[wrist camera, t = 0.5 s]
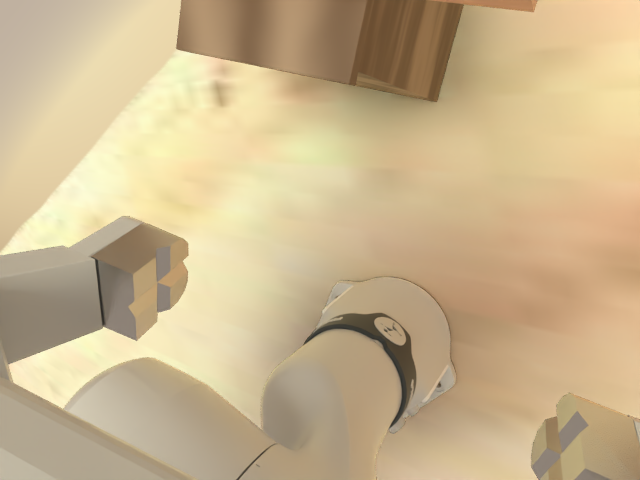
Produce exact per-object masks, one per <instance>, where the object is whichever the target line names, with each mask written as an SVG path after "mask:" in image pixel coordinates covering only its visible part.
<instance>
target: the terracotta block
mask: <svg viewBox="0 0 640 480" xmlns="http://www.w3.org/2000/svg"><path fill="white" fill-rule="evenodd" d="M432 1H440V2H449V3H458V4H467V5H476V6H485V7H493V8H502V9H511V10H520V11H529V12H534V10H535V7H536V4H537V0H432Z"/></svg>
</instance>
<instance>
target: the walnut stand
mask: <svg viewBox="0 0 640 480" xmlns="http://www.w3.org/2000/svg"><path fill="white" fill-rule="evenodd" d="M463 5H464V4H458V3H449V2H440V1H432V0H182V1H181V10H180V19H179V30H178V38H177V47H176V49H178V50H182V51H186V52H191V53H196V54H201V55H206V56H211V57H215V58H220V59H225V60H230V61H235V62H240V63H245V64H250V65H255V66H260V67H265V68H270V69H275V70H280V71H285V72H290V73H294V74H299V75H304V76H309V77H314V78H319V79H324V80H329V81H334V82H339V83H344V84H349V85H354V86H360V87H365V88H370V89H375V90H380V91H385V92H390V93H395V94H400V95H405V96H410V97H415V98H419V99H424V100H429V101H434V102H437V99H438V96H439V92H440V88H441V85H442V81H443V77H444V74H445V70H446V66H447V63H448V59H449V56H450V52H451V48H452V45H453V41H454V37H455V34H456V30H457V26H458V23H459V19H460V15H461V12H462V8H463Z"/></svg>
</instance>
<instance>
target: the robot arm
mask: <svg viewBox="0 0 640 480" xmlns="http://www.w3.org/2000/svg"><path fill="white" fill-rule="evenodd" d="M187 256H188V243H187V242H186V241H185V240H184V239H183V238H180V237H178V236H176V235H173V234H171V233H169V232H166V231H164V230H162V229H159V228H157V227H155V226H152V225H150V224H146V223H144V222H142V221H139V220H137V219H135V218H132V217H130V216H122V217H120V218H119V219H117V220H115V221H113V222H112V223H110V224H108V225H107V226H105V227H103V228H102V229H100V230H98V231H97V232H95V233H93V234H91V235H90V236H88V237H86V238H85V239H83V240H81V241H80V242H78V243H76V244H75V245H73V246H71V247H70V248H67V247H65V246H57V247H51V248H45V249H38V250H32V251H26V252H20V253H14V254H7V255H1V256H0V480H377V478H376V456H377V453H378V451H379V448H380V446H381V443H382V441H383V439H384V437H385V435H386V433H387V431H388V430H389V431H390V433H392V434H394V433H396V432H397V431H398V430H399V429H400V428H401V427H402V426H403V425H404V424H405V422H406V421H405V419H404V418H406V417H407V416H409V415H410V416H411V417H412V416H414V415H415V414H416V413H417V412H418V411H419V410H420V408H421V407H423V406H424V405H426V404H427V403H429V402H430V401H432V400H434V399H435V398H437V397H438V396H440V395H441V394H443V393H444V392H446V391H447V390H449V389H450V388H452V387H453V385H454V384H455V383H456V379H457V378H456V372H455V369H454V367H453V364H452V361H451V359H450V344H451V337H450V330H449V326H448V322H447V319H446V317H445V315H444V313H443V311H442V309H441V308H440V306H439V305H438V303H437V302H436V301H435V300H434V299H433V298H432V297H431V296H430V295H429V294H428V293H427V292H426V291H425V290H423V289H422V288H420V287H419V286H417V285H415V284H413V283H411V282H409V281H406V280H403V279H400V278H394V277H379V278H374V279H370V280H367V281H363V282H354V281H339V282H338V283H336V284H335V285H334V287H333V289H332V291H331V294H330V296H329V299H328V301H327V303H326V306H325V308H324V309H323V311H322V316H321V318H320V320H319V323H318V325H317V328H316V329H315V330H314V331H313V333H312V334H311V335H310V336H309V337H308V338H307V340H306V341H305V343H304V344H303V346H302V347H301V348H300V349H298V350H297V351H296V352H294V353H293V354H292V355H291V356H289V357H288V358H287V359H285V360H284V361H283V362H282V363H280V364H279V365H278V366H277V367H276V368H275V369H274V370H273V372H272V373H271V375H270V376H269V378H268V379H267V381H266V384H265V386H264V389H263V393H262V398H261V426H262V430H261V429H260V428H259V427H257V426H256V425H255V424H254V423H253V422H252V421H250V420H249V419H248V418H247V417H246V416H244V415H243V414H242V413H241V412H240V411H238V410H237V409H236V408H235V407H234V406H232V405H231V404H230V403H229V402H228V401H226V400H225V399H224V398H223V397H222V396H221V395H219V394H218V393H217V392H216V391H215V390H213V389H212V388H211V387H210V386H208V385H207V384H205V383H203V382H201V381H199V380H198V379H196V378H194V377H192V376H190V375H188V374H186V373H184V372H183V371H181V370H179V369H176V368H174V367H172V366H170V365H168V364H166V363H164V362H162V361H160V360H158V359H155V358H149V357H147V358H139V359H134V360H130V361H127V362H123V363H120V364H118V365H115V366H113V367H111V368H109V369H107V370H105V371H103V372H101V373H100V374H98V375H97V376H95V377H94V378H92V379H91V380H90V381H89V382H87V383H86V384H85V385H84V386H83V387H82V388H80V389H79V390H78V391H77V392H76V393H75V394H74V396H73V397H72V398H71V399H70V400H69V401H68V403H67V404H66V405H65V407H64V408H63V409H62V408H60V407H58V406H56V405H55V404H53V403H51V402H49V401H47V400H45V399H43V398H41V397H39V396H37V395H35V394H33V393H32V392H30V391H28V390H26V389H24V388H22V387H20V386H18V385H16V384H14V383H13V380H12V376H11V373H10V369H9V366H8V364H10V363H13V362H16V361H18V360H21V359H24V358H26V357H29V356H32V355H34V354H37V353H39V352H42V351H45V350H47V349H50V348H53V347H55V346H58V345H60V344H63V343H66V342H68V341H71V340H74V339H76V338H79V337H82V336H84V335H87V334H89V333H92V332H95V331H97V330H100V329H102V328H103V327H106V328H108V329H110V330H113V331H115V332H117V333H120V334H122V335H124V336H127V337H129V338H131V339H134V340H136V341H137V340H138V339H139V338H140V337H141V336H142V335H143V334H144V333H146V332H147V331H148V330H149V329H150V328H151V327H152V326H153V325H154V324H155V323H156V322H157V317H158V312H162V311H165V310H169V309H171V308H172V307H173V306H174V305H175V304H176V303H177V302H178V301H179V299H180V297H181V296H182V294H183V292H184V291H185V288H186V284H187V281H188V271H187V269H186V267H185V265H184V263H183V260H184V259H185V258H186V257H187ZM337 296H338V297H337ZM439 382H440V383H441V385H438V383H439ZM556 407H557V417H553V418H550V419H546V420H545V421H544V422H543V424H542V425H541V427H540V428H539V430H538V431H537V434H536V437H535V440H534V442H533V447H532V454H531V468H532V469H533V471H534V473H535V474H536V476H537V478H538V479H539V480H640V419H637V418H634V417H632V416H629V415H625V414H622V413H620V412H617V411H615V410H612V409H610V408H607V407H605V406H602V405H599V404H597V403H594V402H592V401H589V400H587V399H584V398H582V397H579V396H576V395H574V394H571V393H568V394H566V395H565V396H563V397H562V399H561V400H560V401H559V402H558V404H557V405H556Z"/></svg>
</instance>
